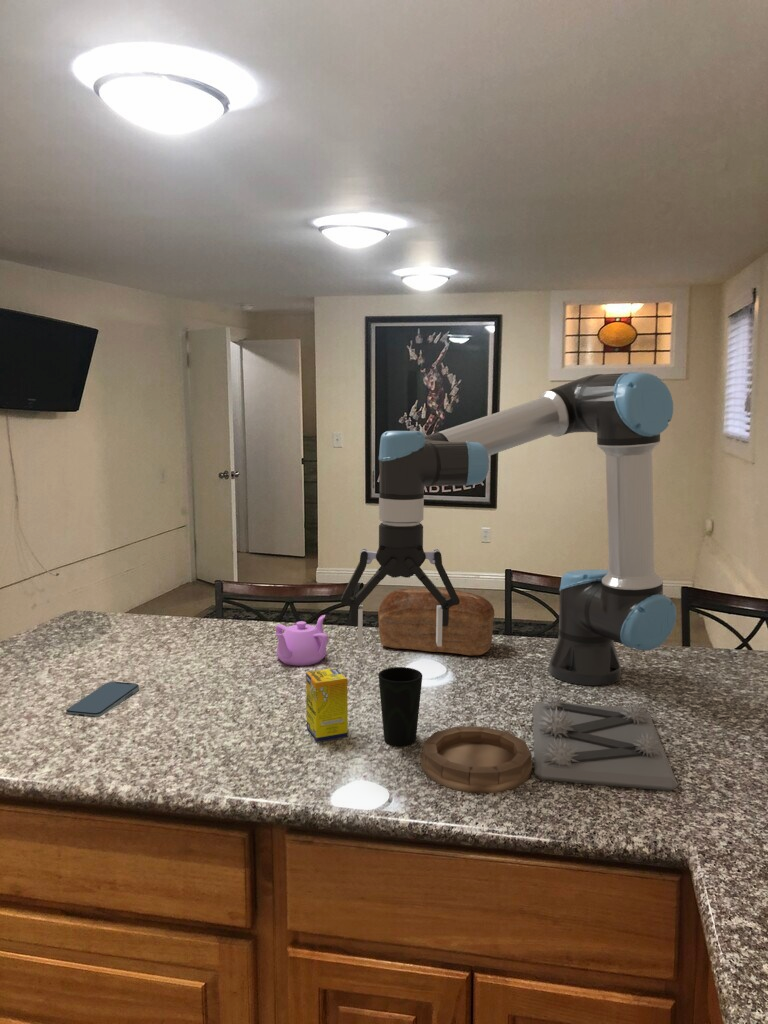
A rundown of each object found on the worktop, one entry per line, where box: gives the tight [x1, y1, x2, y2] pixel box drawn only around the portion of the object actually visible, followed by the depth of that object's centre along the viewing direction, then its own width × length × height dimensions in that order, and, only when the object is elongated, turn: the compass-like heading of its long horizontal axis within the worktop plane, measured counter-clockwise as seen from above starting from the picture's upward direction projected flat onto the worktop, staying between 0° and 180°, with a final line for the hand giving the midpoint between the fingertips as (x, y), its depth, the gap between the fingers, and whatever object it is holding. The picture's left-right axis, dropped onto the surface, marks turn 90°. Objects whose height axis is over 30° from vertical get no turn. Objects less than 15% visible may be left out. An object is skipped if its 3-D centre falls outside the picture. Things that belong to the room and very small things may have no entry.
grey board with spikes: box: [532, 692, 679, 792], centre depth 134 cm, size 30×22×7 cm
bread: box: [377, 587, 495, 656], centre depth 187 cm, size 12×28×14 cm, turn 74°
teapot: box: [274, 614, 329, 667], centre depth 178 cm, size 12×14×9 cm
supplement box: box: [305, 667, 349, 743], centre depth 138 cm, size 6×6×11 cm
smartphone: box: [66, 681, 140, 718], centre depth 154 cm, size 8×2×15 cm
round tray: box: [420, 726, 533, 794], centre depth 126 cm, size 18×18×3 cm
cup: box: [378, 666, 423, 748], centre depth 135 cm, size 8×8×12 cm
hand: (399, 644), depth 134 cm, fingers open, 13 cm apart
